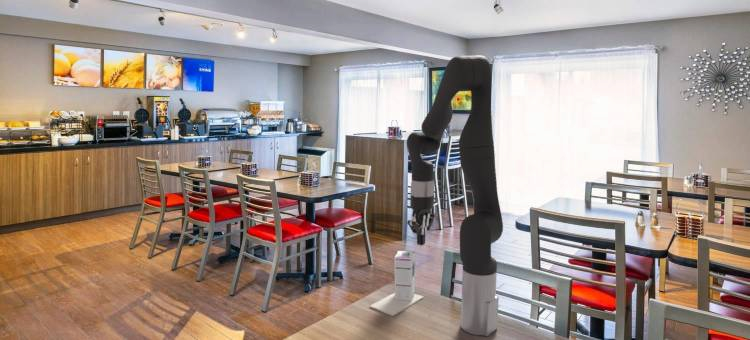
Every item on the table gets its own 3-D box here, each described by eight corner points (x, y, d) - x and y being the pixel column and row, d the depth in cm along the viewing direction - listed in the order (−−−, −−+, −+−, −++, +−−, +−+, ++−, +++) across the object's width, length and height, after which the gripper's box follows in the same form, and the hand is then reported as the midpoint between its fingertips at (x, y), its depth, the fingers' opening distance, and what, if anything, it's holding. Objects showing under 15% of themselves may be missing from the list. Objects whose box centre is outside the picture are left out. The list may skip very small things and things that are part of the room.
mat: (423, 298, 151) (423, 296, 151) (392, 316, 139) (392, 314, 139) (401, 290, 157) (401, 289, 157) (369, 307, 145) (369, 305, 145)
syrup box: (412, 301, 148) (412, 257, 145) (394, 299, 149) (394, 256, 147) (415, 293, 153) (415, 251, 151) (397, 292, 154) (397, 250, 152)
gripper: (424, 188, 160) (422, 237, 163) (400, 195, 150) (399, 247, 153) (443, 191, 155) (441, 242, 158) (420, 198, 145) (418, 252, 148)
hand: (420, 244), depth 155 cm, fingers closed
